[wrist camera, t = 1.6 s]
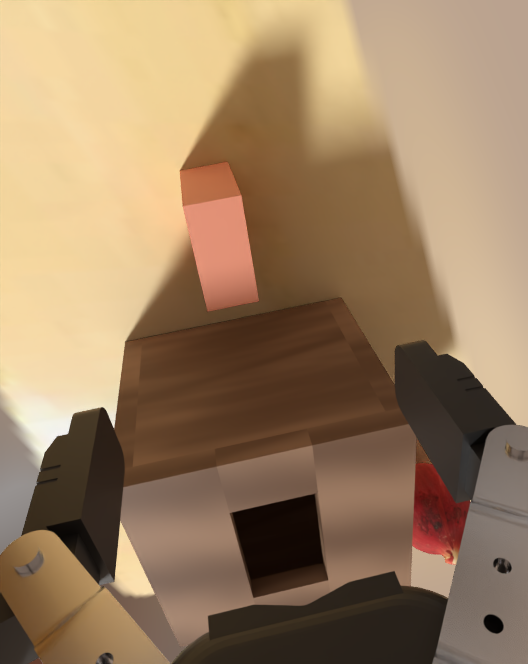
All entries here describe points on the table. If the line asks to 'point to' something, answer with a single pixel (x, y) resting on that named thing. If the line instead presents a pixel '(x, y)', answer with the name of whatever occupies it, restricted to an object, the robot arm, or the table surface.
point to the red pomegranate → (437, 515)
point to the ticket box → (263, 463)
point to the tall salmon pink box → (218, 235)
